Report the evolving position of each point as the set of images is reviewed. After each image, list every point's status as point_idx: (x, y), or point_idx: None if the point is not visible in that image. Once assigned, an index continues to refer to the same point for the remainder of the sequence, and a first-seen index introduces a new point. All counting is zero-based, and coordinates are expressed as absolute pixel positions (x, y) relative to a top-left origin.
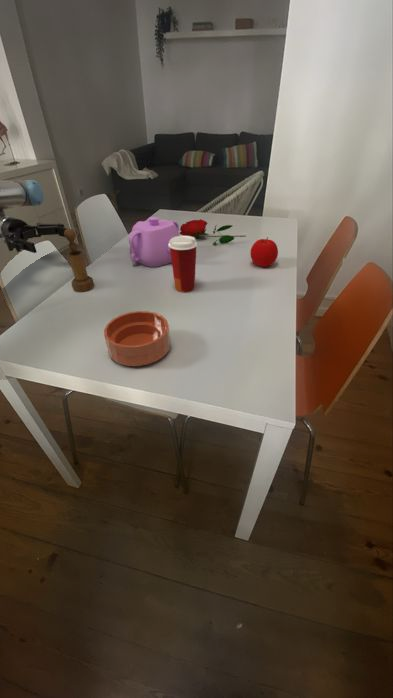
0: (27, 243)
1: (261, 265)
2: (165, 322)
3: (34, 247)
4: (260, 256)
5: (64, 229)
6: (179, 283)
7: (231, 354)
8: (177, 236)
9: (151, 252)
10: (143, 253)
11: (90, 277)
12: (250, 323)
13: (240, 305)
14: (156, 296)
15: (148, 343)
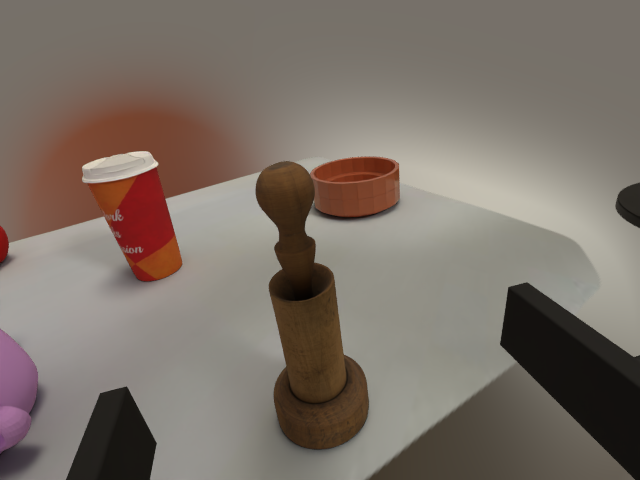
0: (575, 324)
1: (6, 254)
2: (317, 167)
3: (510, 312)
4: (2, 233)
5: (101, 476)
6: (177, 243)
7: None
8: (94, 168)
9: (12, 339)
10: (5, 373)
11: (284, 371)
12: (219, 198)
13: (181, 216)
14: (225, 270)
15: (359, 157)
